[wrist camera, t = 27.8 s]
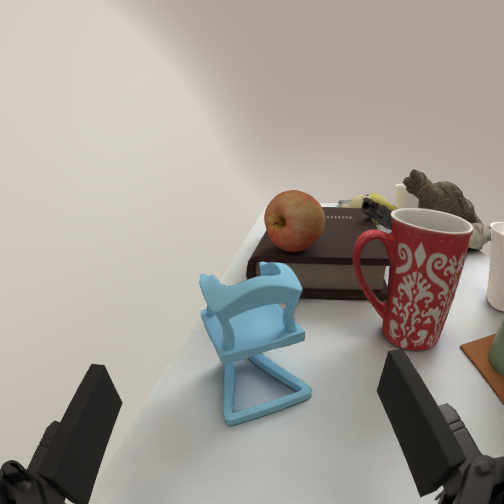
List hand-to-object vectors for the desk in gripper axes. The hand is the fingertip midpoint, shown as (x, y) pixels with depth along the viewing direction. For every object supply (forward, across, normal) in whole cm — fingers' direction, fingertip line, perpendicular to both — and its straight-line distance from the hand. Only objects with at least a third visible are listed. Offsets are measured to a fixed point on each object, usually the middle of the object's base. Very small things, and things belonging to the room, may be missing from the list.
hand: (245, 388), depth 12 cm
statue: (+49, +56, -8) cm, 75 cm away
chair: (+10, 0, -11) cm, 15 cm away
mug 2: (+15, +17, -10) cm, 25 cm away
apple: (+30, +9, -1) cm, 32 cm away
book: (+38, +13, -10) cm, 41 cm away
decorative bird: (+36, +57, -7) cm, 68 cm away
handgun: (+37, +35, -5) cm, 52 cm away
